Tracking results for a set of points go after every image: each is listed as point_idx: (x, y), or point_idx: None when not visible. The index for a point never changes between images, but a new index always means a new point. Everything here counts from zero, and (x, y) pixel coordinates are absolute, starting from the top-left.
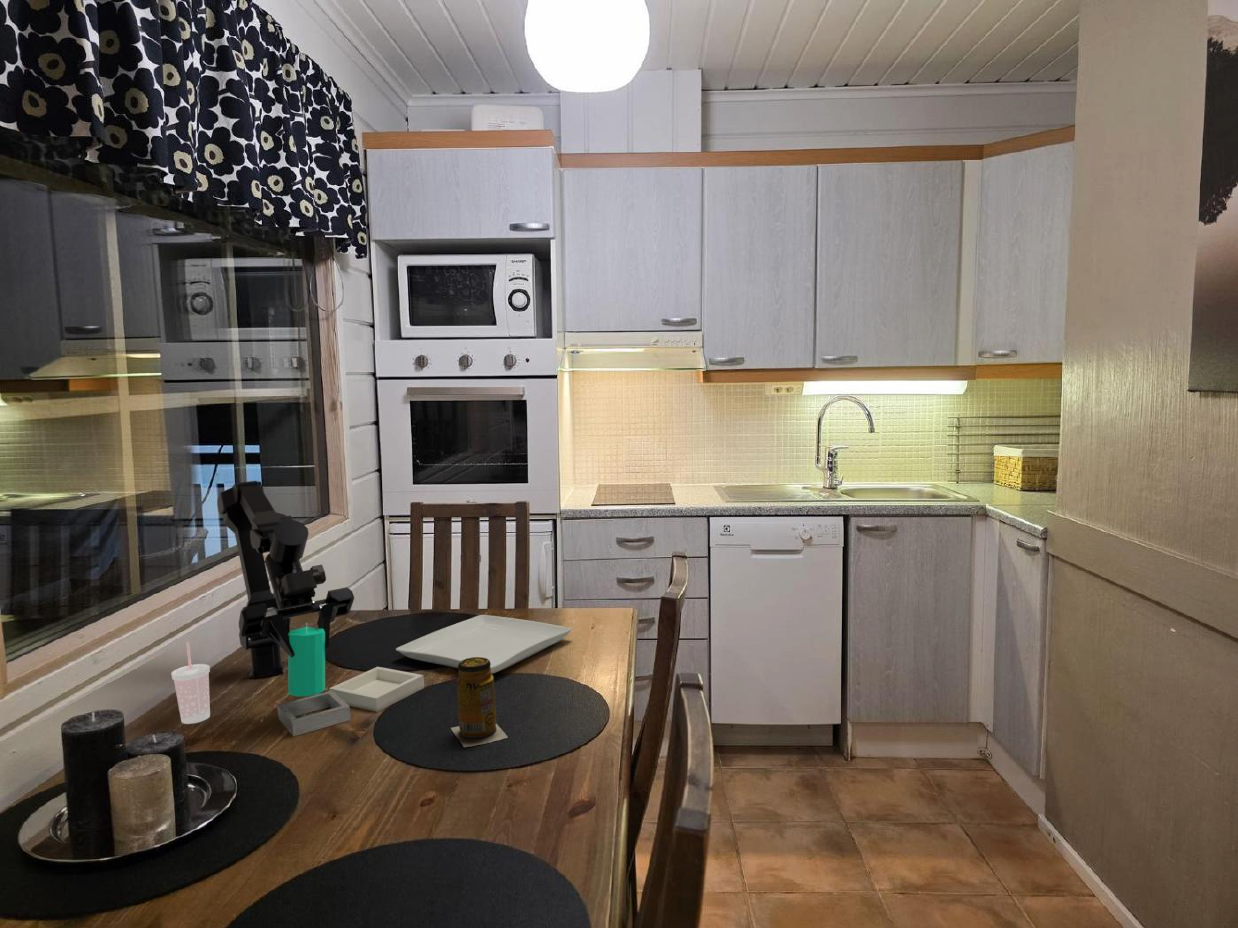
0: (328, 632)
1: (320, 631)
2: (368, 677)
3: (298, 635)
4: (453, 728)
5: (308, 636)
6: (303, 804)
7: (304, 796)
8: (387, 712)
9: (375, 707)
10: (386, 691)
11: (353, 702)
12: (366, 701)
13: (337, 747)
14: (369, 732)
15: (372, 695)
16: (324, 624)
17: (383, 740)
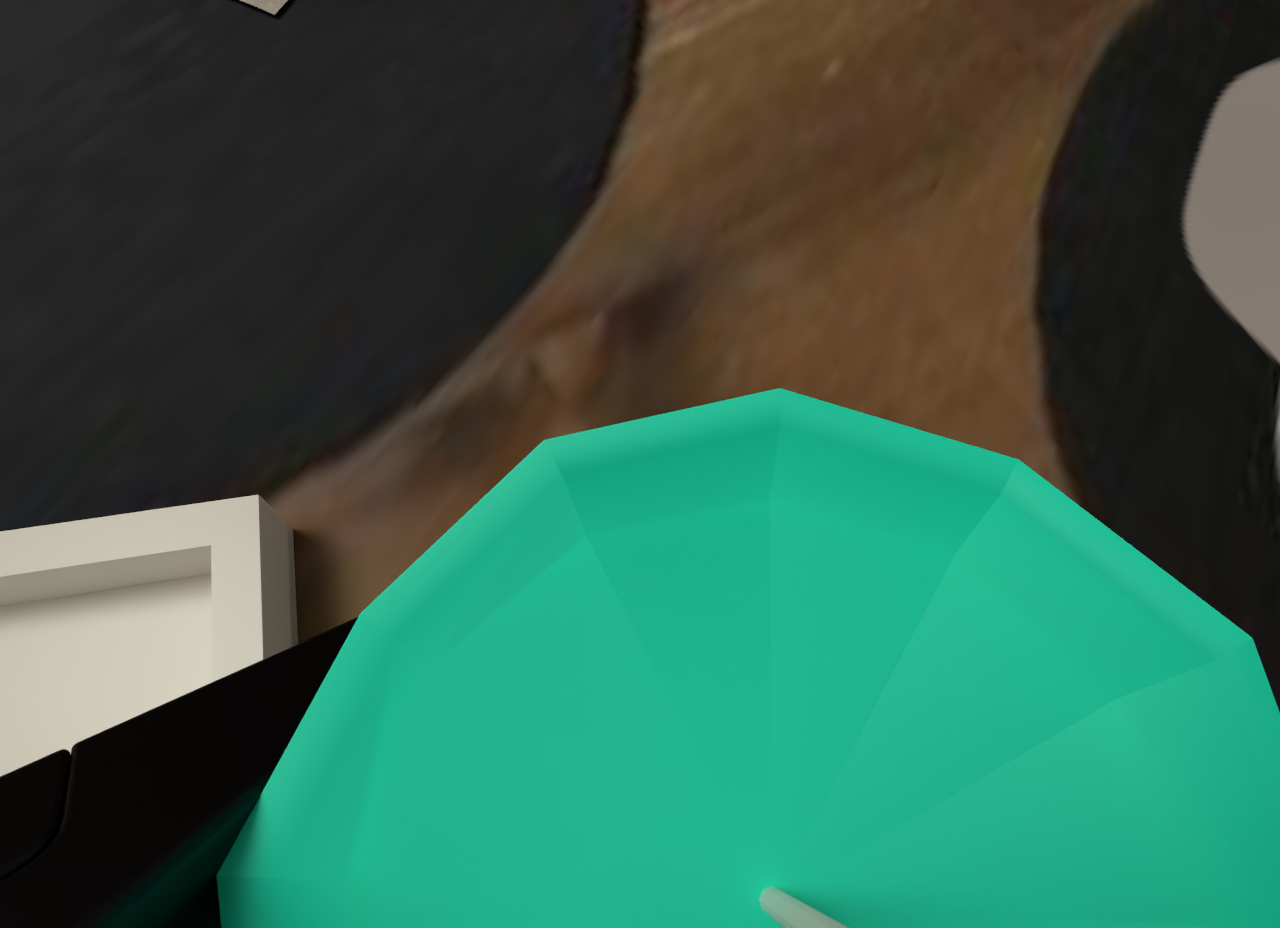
0: (219, 701)
1: (354, 840)
2: None
3: (1177, 588)
4: (272, 2)
5: (931, 442)
6: (1095, 22)
7: (1072, 63)
8: (266, 464)
9: (284, 533)
10: (106, 546)
11: None
12: (276, 616)
13: (756, 310)
14: (536, 318)
15: (225, 573)
16: (105, 861)
17: (557, 184)
